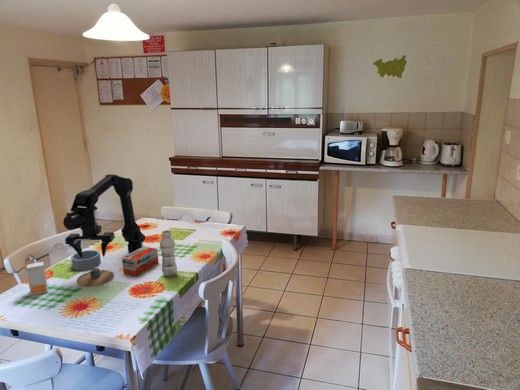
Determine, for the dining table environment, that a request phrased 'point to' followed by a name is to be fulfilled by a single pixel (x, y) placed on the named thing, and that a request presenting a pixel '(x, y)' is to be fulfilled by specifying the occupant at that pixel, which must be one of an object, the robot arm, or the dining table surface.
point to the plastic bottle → (168, 254)
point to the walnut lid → (95, 277)
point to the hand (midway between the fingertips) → (92, 256)
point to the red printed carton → (140, 261)
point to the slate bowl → (86, 260)
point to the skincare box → (37, 278)
